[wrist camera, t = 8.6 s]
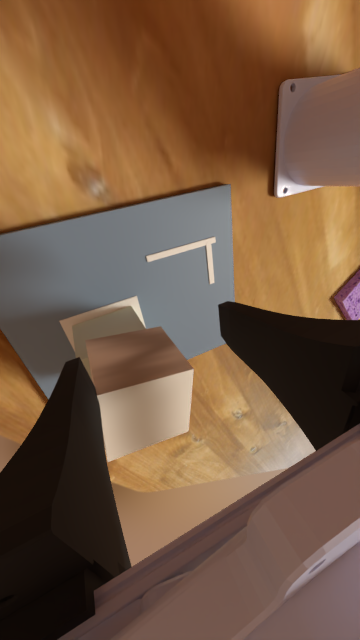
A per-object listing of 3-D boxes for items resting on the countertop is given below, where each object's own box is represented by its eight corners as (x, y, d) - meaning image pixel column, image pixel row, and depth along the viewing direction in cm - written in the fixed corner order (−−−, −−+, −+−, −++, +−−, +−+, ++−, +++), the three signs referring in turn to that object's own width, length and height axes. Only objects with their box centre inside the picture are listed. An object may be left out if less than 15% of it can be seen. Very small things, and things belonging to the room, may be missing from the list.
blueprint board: (225, 184, 20) (231, 184, 20) (231, 335, 29) (236, 339, 28) (-51, 245, 15) (-56, 248, 14) (58, 407, 24) (58, 415, 23)
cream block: (160, 326, 17) (193, 368, 13) (160, 380, 19) (188, 431, 15) (85, 340, 15) (96, 395, 11) (95, 399, 17) (107, 462, 13)
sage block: (131, 305, 21) (149, 334, 17) (144, 349, 24) (162, 383, 20) (71, 325, 19) (76, 362, 15) (93, 370, 22) (101, 410, 18)
